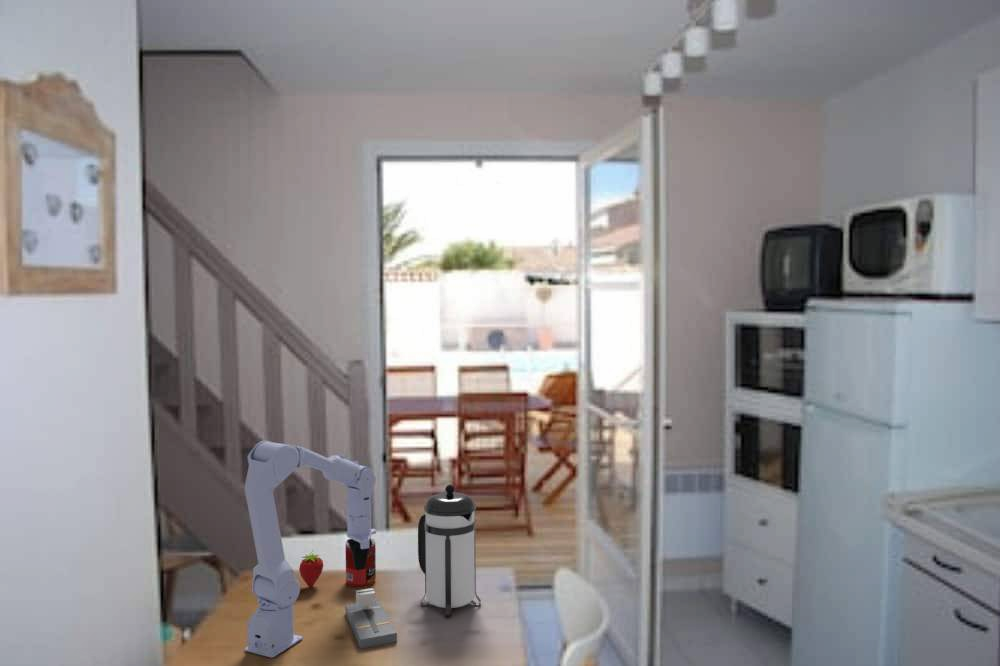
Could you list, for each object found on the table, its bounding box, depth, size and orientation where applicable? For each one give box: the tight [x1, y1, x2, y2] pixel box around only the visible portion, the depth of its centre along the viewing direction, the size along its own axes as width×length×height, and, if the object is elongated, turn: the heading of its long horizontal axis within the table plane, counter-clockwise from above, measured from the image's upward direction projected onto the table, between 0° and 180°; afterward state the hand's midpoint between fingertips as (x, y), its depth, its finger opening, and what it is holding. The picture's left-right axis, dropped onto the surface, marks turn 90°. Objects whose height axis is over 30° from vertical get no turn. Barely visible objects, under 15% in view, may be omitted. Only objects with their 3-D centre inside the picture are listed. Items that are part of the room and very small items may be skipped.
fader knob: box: [355, 587, 376, 610], centre depth 160 cm, size 3×4×4 cm
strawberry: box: [299, 550, 324, 588], centre depth 179 cm, size 6×8×10 cm
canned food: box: [345, 537, 377, 588], centre depth 182 cm, size 8×8×11 cm
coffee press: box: [417, 484, 482, 618], centre depth 168 cm, size 17×16×30 cm
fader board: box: [345, 599, 398, 650], centre depth 156 cm, size 19×8×2 cm, turn 22°
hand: (359, 568), depth 167 cm, fingers closed
